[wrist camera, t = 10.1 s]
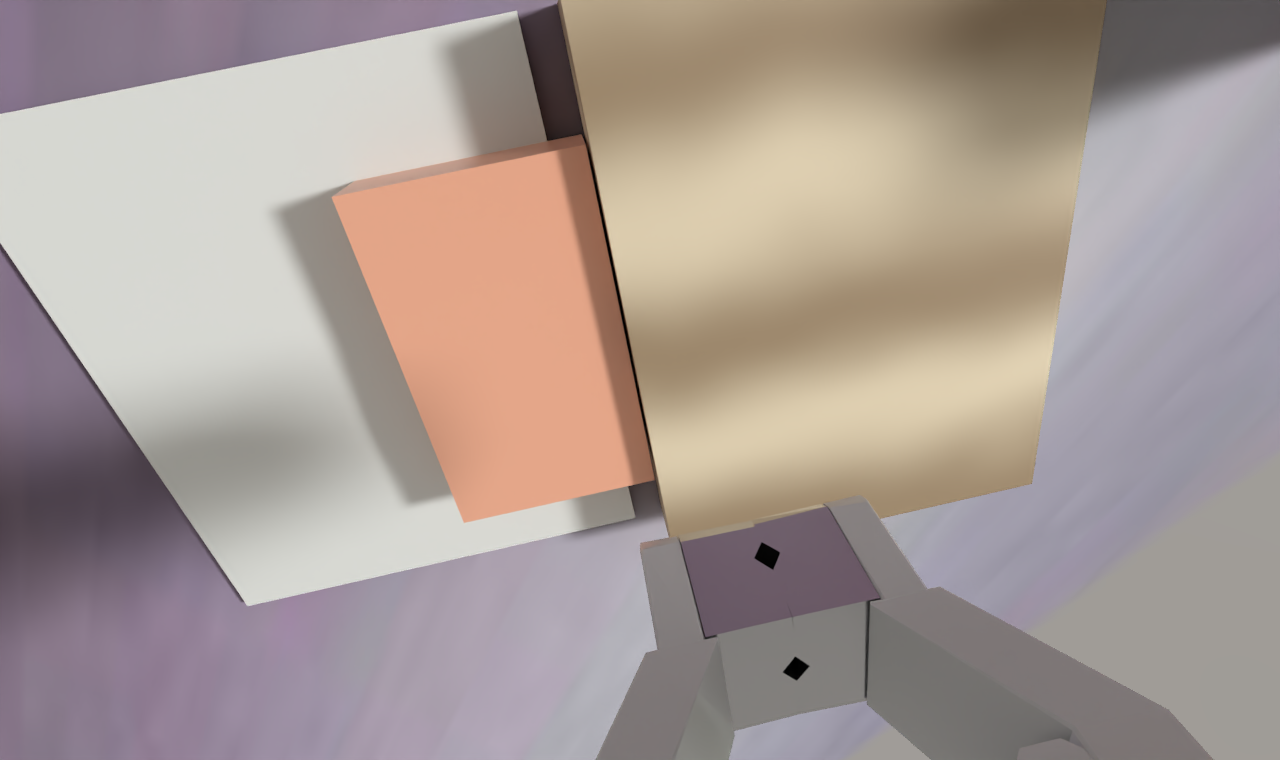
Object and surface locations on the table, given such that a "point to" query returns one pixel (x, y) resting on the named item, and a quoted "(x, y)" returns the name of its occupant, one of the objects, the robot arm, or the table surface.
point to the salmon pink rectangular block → (504, 323)
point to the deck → (835, 238)
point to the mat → (269, 293)
